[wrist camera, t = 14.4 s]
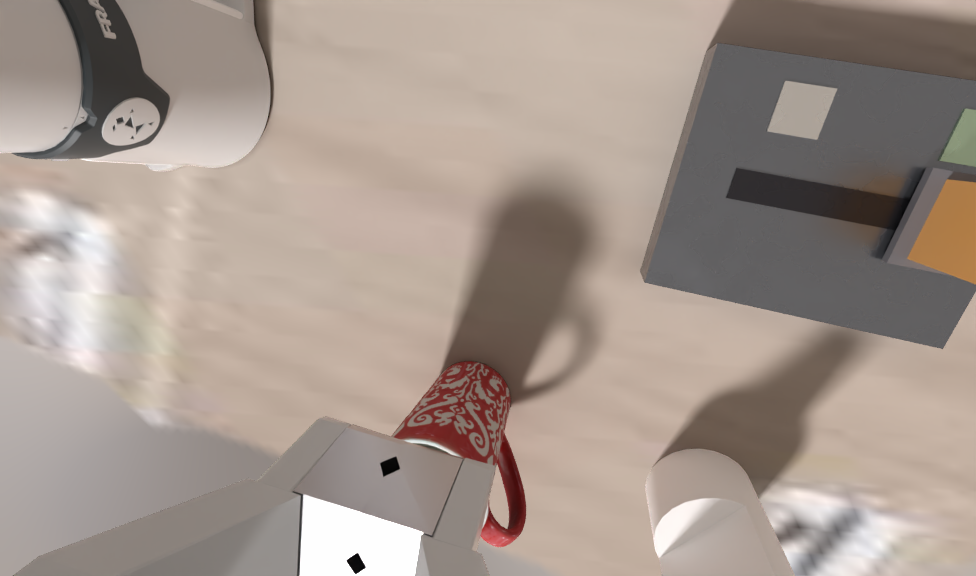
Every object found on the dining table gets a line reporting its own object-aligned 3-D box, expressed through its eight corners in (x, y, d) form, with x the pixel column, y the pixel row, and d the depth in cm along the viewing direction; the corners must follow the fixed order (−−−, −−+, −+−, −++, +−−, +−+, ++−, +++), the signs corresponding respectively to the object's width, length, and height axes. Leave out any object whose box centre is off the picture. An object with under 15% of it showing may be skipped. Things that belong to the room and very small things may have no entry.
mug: (408, 387, 45) (337, 484, 32) (471, 332, 41) (420, 415, 29) (497, 476, 46) (462, 603, 33) (566, 429, 42) (556, 550, 30)
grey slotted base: (640, 271, 37) (644, 282, 34) (706, 51, 31) (718, 42, 28) (913, 331, 34) (944, 349, 31) (1037, 101, 28) (1088, 97, 26)
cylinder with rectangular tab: (693, 546, 43) (729, 686, 32) (624, 485, 43) (636, 606, 32) (775, 496, 40) (847, 634, 29) (701, 430, 40) (745, 543, 29)
